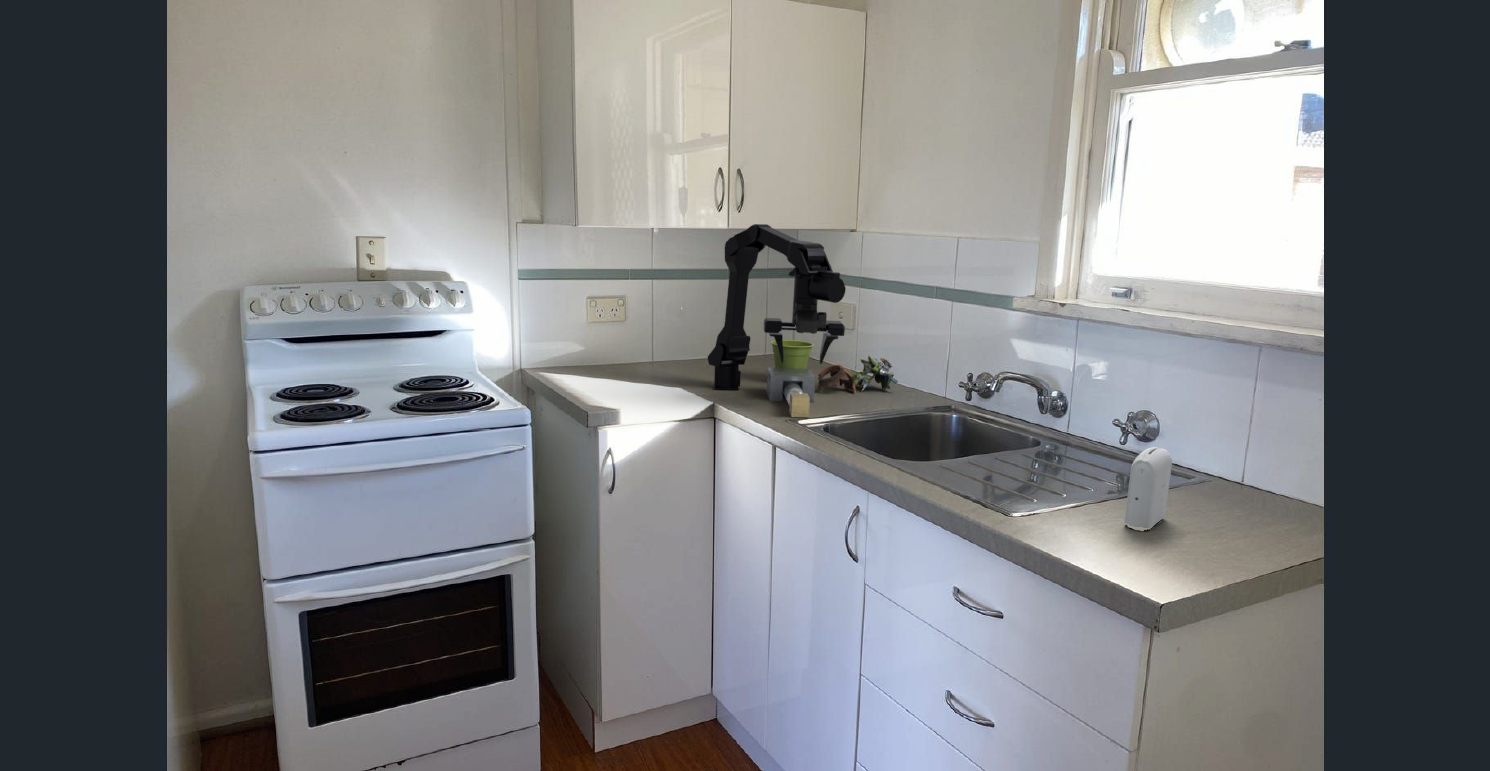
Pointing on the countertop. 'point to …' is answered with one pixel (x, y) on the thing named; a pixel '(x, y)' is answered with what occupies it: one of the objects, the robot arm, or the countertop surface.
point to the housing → (789, 381)
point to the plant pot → (792, 354)
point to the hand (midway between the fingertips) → (801, 362)
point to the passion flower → (875, 373)
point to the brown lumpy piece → (836, 378)
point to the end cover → (797, 400)
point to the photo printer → (1148, 488)
